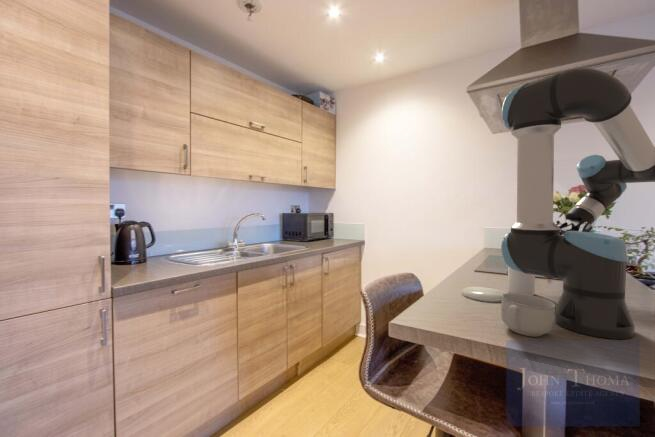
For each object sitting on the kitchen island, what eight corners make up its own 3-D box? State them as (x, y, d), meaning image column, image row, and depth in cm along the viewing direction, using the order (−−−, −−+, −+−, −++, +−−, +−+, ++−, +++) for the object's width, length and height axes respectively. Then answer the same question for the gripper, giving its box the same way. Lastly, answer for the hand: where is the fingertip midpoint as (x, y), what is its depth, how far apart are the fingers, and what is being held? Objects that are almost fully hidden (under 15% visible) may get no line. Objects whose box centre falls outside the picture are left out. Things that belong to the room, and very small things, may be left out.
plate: (506, 304, 94) (506, 300, 94) (457, 297, 102) (457, 293, 102) (509, 294, 105) (510, 290, 105) (465, 288, 113) (465, 284, 113)
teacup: (518, 320, 81) (519, 290, 81) (564, 336, 71) (565, 301, 71) (482, 329, 75) (482, 297, 75) (527, 347, 65) (528, 310, 65)
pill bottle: (534, 292, 108) (535, 249, 108) (534, 297, 101) (536, 252, 101) (508, 288, 112) (509, 248, 112) (507, 293, 106) (508, 250, 105)
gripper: (626, 222, 94) (576, 271, 95) (563, 219, 119) (524, 258, 120) (609, 205, 94) (559, 254, 95) (550, 206, 119) (510, 244, 120)
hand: (539, 256), depth 107 cm, fingers open, 13 cm apart
